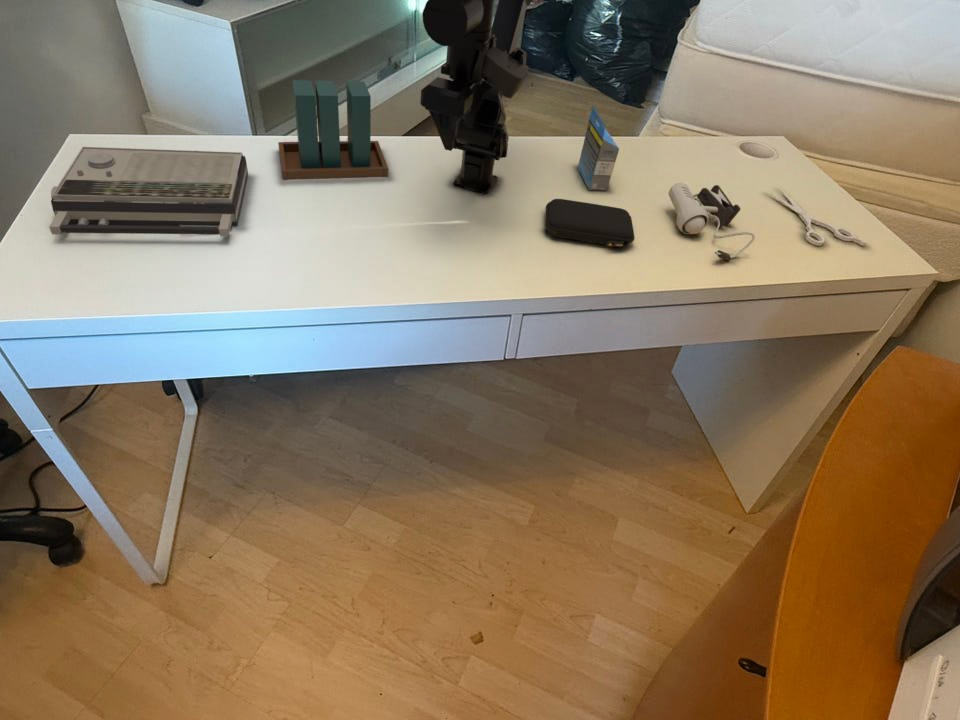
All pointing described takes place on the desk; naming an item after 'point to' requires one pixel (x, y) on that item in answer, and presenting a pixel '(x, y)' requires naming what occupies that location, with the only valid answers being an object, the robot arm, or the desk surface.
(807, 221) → the scissors
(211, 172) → the radio
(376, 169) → the book tray
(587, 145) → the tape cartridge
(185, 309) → the desk surface
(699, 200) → the clip-on lamp
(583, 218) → the carrying case
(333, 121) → the teal book
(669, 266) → the desk surface
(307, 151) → the teal book
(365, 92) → the slim teal book
